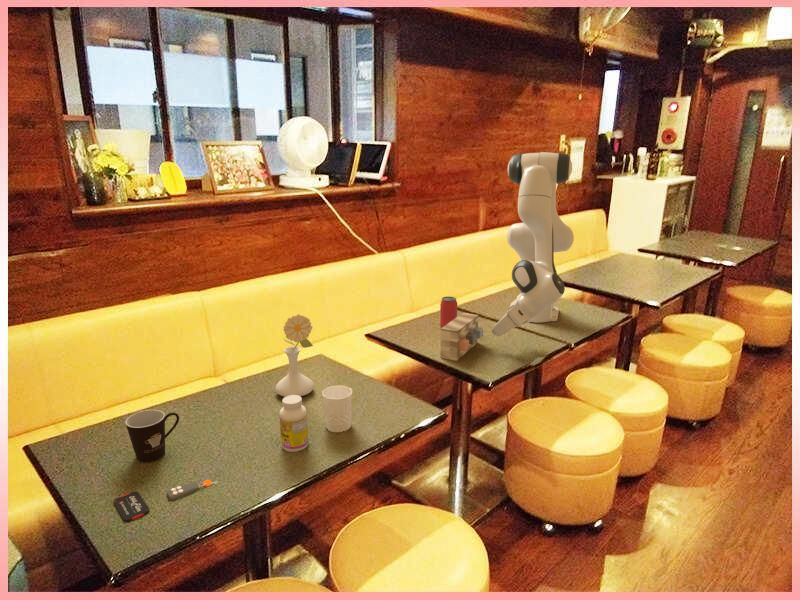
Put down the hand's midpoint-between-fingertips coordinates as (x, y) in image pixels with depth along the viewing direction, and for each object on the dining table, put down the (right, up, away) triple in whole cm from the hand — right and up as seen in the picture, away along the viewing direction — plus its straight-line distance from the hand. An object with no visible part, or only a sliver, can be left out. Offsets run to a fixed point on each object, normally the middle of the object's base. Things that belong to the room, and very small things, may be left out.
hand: (494, 332), depth 197 cm
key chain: (-78, -30, -73) cm, 111 cm away
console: (-12, -6, +2) cm, 14 cm away
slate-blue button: (-5, -2, +4) cm, 7 cm away
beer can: (-14, 0, +24) cm, 27 cm away
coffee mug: (-92, -26, -60) cm, 113 cm away
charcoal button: (-9, -3, -1) cm, 9 cm away
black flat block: (-89, -32, -79) cm, 124 cm away
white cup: (-49, -22, -48) cm, 73 cm away
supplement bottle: (-59, -25, -57) cm, 86 cm away
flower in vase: (-64, -16, -30) cm, 72 cm away
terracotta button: (-12, -5, -7) cm, 15 cm away
